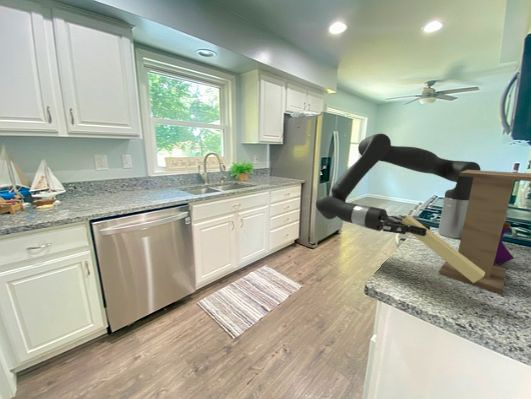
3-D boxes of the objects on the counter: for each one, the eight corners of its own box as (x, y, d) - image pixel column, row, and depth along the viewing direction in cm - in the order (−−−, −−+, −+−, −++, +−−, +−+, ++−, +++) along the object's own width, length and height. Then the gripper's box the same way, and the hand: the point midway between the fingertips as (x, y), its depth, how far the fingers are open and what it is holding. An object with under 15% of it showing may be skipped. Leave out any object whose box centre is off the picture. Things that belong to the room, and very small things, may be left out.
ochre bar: (402, 221, 72) (409, 214, 70) (475, 278, 61) (485, 272, 59) (399, 223, 70) (405, 216, 68) (473, 283, 59) (483, 276, 57)
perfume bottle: (512, 267, 76) (526, 215, 72) (486, 265, 78) (498, 214, 74) (495, 257, 83) (507, 209, 79) (471, 255, 85) (482, 208, 81)
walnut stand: (450, 257, 83) (468, 169, 76) (505, 273, 73) (532, 173, 65) (438, 273, 72) (458, 173, 65) (501, 294, 62) (532, 177, 55)
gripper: (360, 210, 73) (422, 224, 61) (378, 203, 82) (436, 214, 70) (357, 232, 75) (418, 250, 62) (376, 223, 84) (432, 237, 71)
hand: (427, 231), depth 66 cm, fingers closed on ochre bar, 3 cm apart
